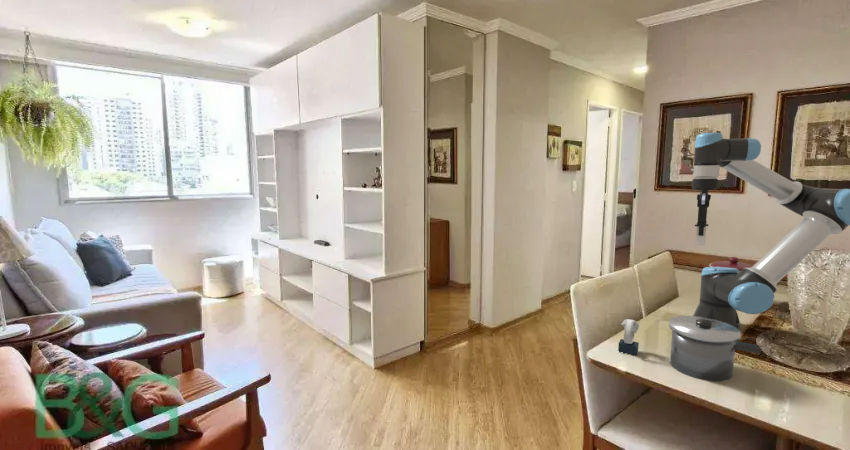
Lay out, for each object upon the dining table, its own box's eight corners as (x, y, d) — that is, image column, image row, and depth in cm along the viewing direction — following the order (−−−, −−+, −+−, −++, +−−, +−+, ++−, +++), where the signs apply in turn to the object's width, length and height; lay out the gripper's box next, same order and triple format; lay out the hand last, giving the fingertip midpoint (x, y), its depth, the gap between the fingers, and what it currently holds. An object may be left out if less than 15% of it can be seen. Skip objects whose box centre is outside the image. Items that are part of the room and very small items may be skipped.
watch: (638, 349, 139) (640, 318, 137) (635, 358, 132) (637, 325, 131) (621, 345, 142) (622, 315, 141) (616, 353, 135) (618, 322, 134)
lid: (671, 316, 136) (672, 307, 136) (739, 328, 126) (740, 318, 125) (666, 333, 122) (666, 324, 121) (741, 348, 111) (742, 338, 111)
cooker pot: (672, 350, 137) (675, 316, 136) (754, 368, 125) (757, 330, 123) (667, 371, 123) (670, 333, 122) (758, 393, 111) (762, 351, 109)
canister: (723, 293, 200) (726, 252, 198) (764, 304, 184) (769, 259, 181) (697, 298, 194) (700, 254, 191) (737, 309, 177) (742, 262, 175)
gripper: (693, 177, 149) (688, 241, 152) (691, 178, 139) (686, 246, 142) (718, 177, 145) (713, 242, 148) (718, 178, 134) (712, 248, 137)
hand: (700, 244), depth 145 cm, fingers closed
